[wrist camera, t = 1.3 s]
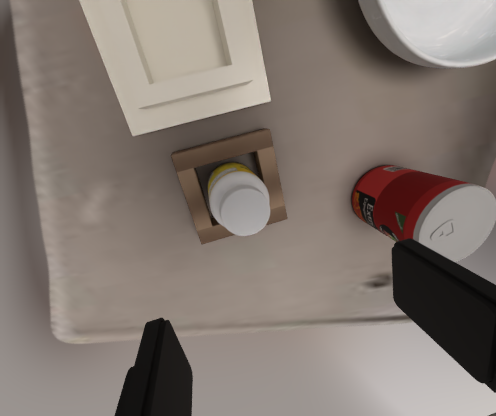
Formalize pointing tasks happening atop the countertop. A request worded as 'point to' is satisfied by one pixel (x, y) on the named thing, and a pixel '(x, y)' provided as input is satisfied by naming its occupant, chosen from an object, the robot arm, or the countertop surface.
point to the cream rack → (179, 58)
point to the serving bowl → (435, 30)
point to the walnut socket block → (220, 151)
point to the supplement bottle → (238, 199)
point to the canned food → (426, 209)
